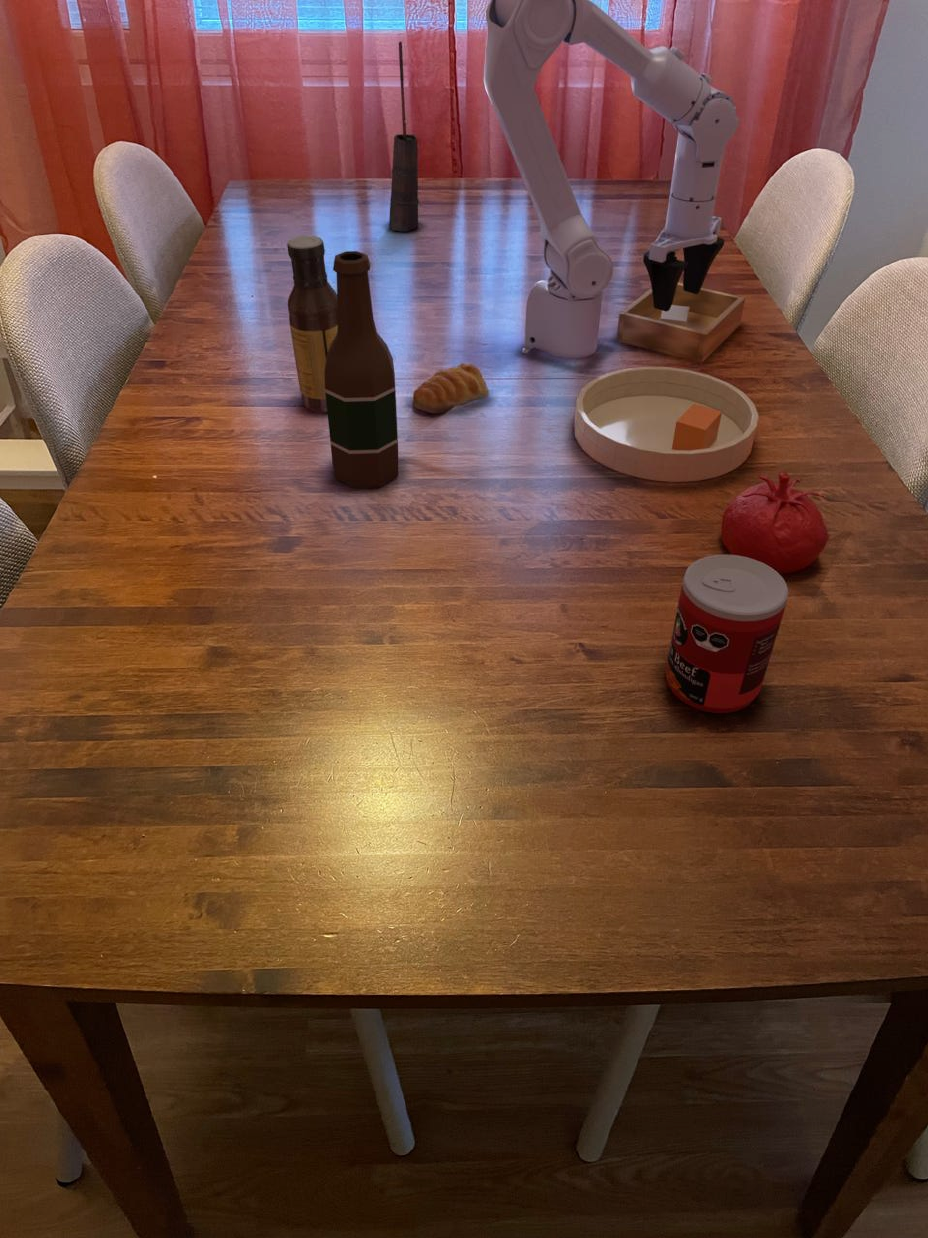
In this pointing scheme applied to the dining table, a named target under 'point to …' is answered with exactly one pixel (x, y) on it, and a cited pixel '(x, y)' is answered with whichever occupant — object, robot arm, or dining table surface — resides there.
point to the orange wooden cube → (696, 428)
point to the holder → (704, 332)
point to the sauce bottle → (311, 318)
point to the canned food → (724, 632)
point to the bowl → (661, 423)
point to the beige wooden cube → (676, 315)
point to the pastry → (450, 389)
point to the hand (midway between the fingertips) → (676, 300)
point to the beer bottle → (360, 384)
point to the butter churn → (404, 174)
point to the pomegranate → (775, 525)
